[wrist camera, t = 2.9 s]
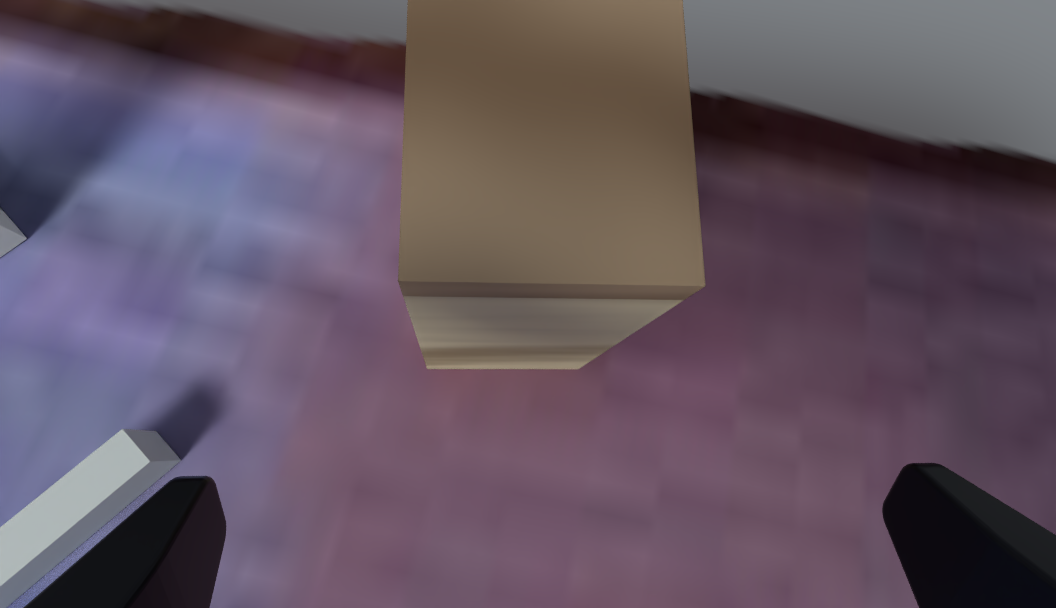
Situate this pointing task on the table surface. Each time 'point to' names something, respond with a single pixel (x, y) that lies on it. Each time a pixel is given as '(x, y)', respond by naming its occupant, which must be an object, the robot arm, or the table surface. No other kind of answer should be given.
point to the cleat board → (75, 493)
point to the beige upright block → (545, 178)
